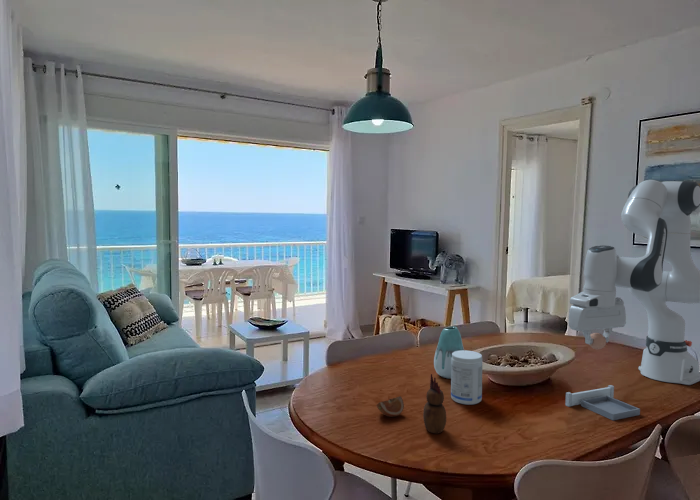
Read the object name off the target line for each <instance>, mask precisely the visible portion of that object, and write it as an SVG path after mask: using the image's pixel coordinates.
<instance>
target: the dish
mask: <svg viewBox="0 0 700 500" xmlns="http://www.w3.org/2000/svg"><path fill="white" fill-rule="evenodd" d="M580 406H581V407H583V408H584V409H587V410H588V411H591V412H593V413H595V414H598V415H600V416H602V417H604V418H607V419H609V420H611V421H618V420H621V419H622V420H623V419H627V418H631V417H635V416H640V415H641V408H638V407H636V406H634V405H631V404H629V403H626V402H624V401H621V400H619V399H617V398H612V397H609V396H602V397H596V398H591V399H585V400H581V404H580Z"/></svg>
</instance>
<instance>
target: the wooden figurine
mask: <svg viewBox="0 0 700 500" xmlns="http://www.w3.org/2000/svg"><path fill="white" fill-rule="evenodd" d="M429 382H430V383H429V389H428V390H427V392H426V397H425V398H426V402H425V404H424V406H423V415H422V416H423V418H422V419H423V422H424V427H425V429H426V430H427V431H428V432H429V433H431V434H440V433H442V432H443V431H444V430H445V427H446V425H447V411H446V407H445V405H444V404H443V403H444V401H445V395H444V392H443V391H442V390H441V386H440V385H439V382H437V380H436V377H433V374H432V373H430V381H429Z"/></svg>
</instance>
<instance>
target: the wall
mask: <svg viewBox="0 0 700 500" xmlns="http://www.w3.org/2000/svg"><path fill="white" fill-rule="evenodd" d="M614 394H615V386H614V385H612V384H609V385H607V386H606V387H601V388H597V389H595V388H594V389H591V390H590V389H589V390H584V391H578V392H573V393H571V392H570V391H568V392H565V406H566V407H573V406H578V405H581V400H585V399H591V398H596V397H602V396H609V397H612V398H614ZM614 399H615V398H614Z"/></svg>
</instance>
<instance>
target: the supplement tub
mask: <svg viewBox="0 0 700 500" xmlns="http://www.w3.org/2000/svg"><path fill="white" fill-rule="evenodd" d="M450 397H451V399H452V401H454V402H455V403H458V404H461V405H465V406H466V405H467V406H468V405H469V406H470V405H471V406H472V405H477V404H479V403H480V402H482V399H483V355H482V354H481V353H480V352H477V351H473V350H466V349H464V350H460V351H455V352H453V353H452V359H451V379H450Z"/></svg>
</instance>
